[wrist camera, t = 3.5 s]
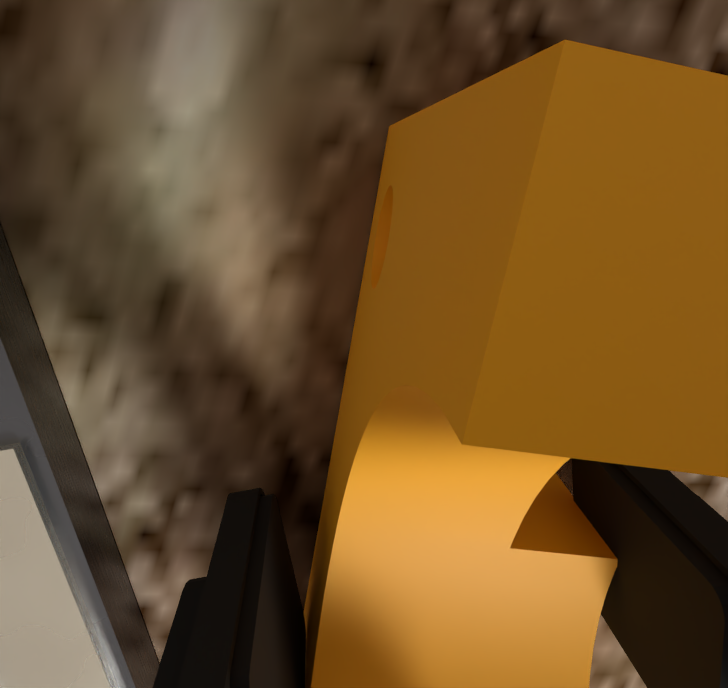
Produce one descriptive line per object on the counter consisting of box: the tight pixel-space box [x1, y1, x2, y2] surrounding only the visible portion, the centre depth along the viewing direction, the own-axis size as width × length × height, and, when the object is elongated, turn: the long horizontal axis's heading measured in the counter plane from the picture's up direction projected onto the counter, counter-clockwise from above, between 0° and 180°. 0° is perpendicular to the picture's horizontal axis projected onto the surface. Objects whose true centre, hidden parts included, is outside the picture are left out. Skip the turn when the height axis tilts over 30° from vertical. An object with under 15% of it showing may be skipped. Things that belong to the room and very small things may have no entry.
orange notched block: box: [303, 40, 728, 688], centre depth 7 cm, size 12×4×6 cm, turn 170°
